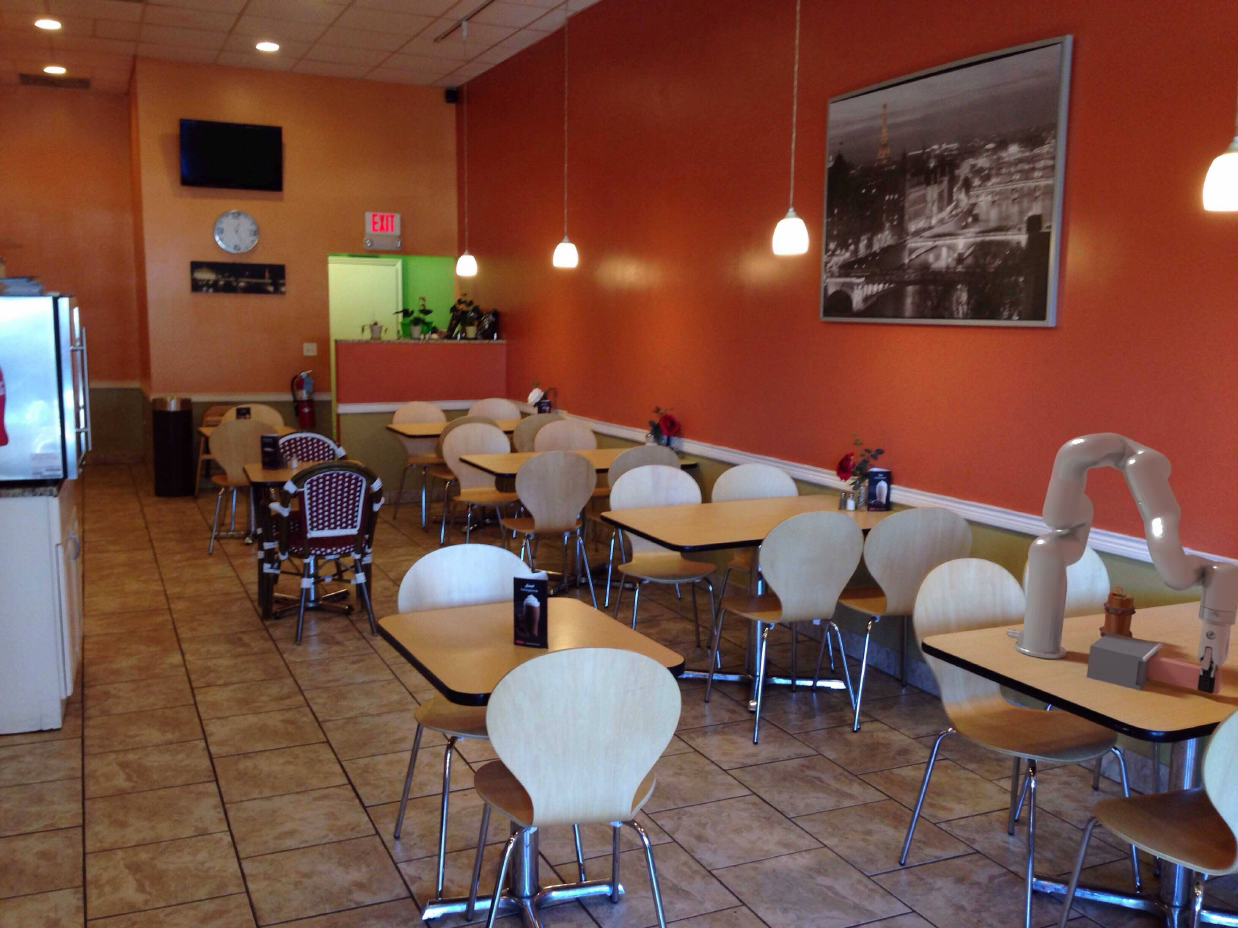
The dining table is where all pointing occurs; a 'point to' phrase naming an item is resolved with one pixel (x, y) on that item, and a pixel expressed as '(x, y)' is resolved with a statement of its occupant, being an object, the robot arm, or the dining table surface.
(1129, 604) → the brown wooden cylinder bundle
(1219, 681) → the long pink plank
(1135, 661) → the dispenser
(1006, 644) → the dining table surface
